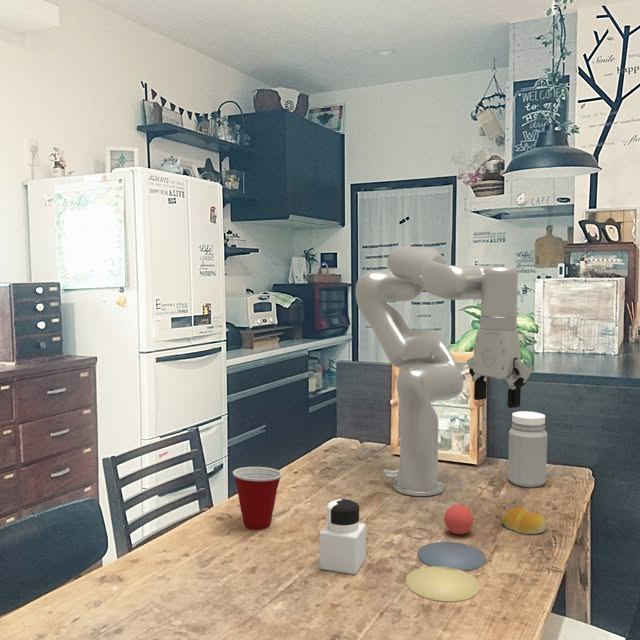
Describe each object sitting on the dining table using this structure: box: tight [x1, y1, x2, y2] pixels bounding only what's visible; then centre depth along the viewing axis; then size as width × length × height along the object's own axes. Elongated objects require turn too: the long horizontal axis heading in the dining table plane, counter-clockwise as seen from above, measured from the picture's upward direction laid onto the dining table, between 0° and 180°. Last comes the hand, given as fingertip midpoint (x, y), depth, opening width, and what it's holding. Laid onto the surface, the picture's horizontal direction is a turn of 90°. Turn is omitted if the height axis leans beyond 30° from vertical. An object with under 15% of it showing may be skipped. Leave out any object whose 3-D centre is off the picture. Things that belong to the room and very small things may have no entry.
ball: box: [443, 504, 474, 535], centre depth 142 cm, size 6×6×6 cm
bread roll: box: [501, 506, 547, 535], centre depth 146 cm, size 8×9×4 cm
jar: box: [507, 410, 548, 488], centre depth 176 cm, size 10×10×18 cm
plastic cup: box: [232, 466, 284, 531], centre depth 147 cm, size 11×11×12 cm
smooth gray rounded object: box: [417, 541, 487, 572], centre depth 131 cm, size 13×13×1 cm
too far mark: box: [405, 566, 481, 603], centre depth 120 cm, size 13×13×1 cm
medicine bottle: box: [318, 498, 367, 575], centre depth 127 cm, size 7×7×12 cm
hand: (496, 403), depth 146 cm, fingers open, 9 cm apart
